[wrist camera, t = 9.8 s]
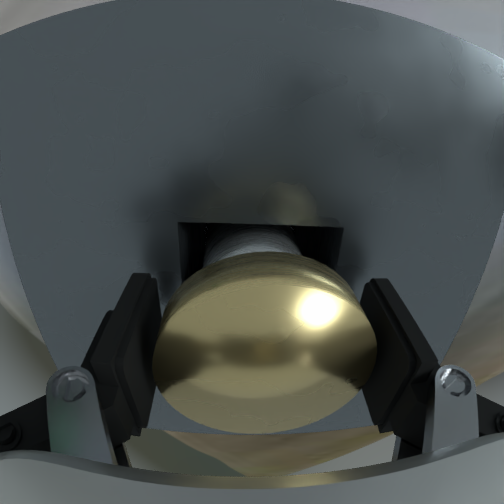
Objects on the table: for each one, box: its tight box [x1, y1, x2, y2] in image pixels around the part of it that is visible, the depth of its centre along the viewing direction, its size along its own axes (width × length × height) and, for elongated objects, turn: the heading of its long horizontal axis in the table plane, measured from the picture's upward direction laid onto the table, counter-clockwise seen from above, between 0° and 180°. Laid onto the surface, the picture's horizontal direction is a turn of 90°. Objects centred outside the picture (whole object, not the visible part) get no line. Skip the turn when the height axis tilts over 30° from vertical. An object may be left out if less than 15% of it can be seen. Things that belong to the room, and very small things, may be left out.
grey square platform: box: [0, 0, 504, 435], centre depth 15 cm, size 20×20×8 cm
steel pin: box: [152, 223, 377, 434], centre depth 12 cm, size 6×6×10 cm
